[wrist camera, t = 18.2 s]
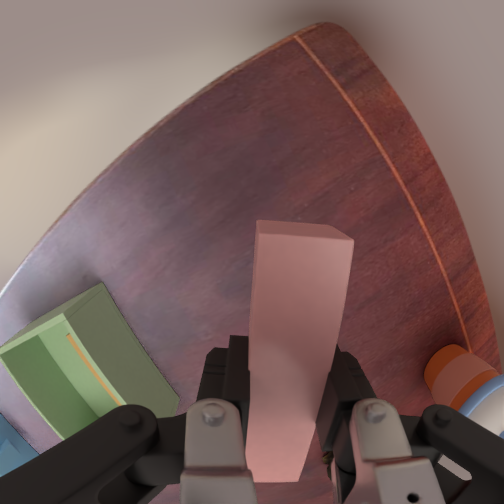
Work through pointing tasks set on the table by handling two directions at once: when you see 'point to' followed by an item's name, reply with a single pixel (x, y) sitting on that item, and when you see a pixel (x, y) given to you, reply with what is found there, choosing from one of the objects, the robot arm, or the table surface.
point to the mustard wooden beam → (91, 367)
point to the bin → (76, 371)
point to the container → (13, 448)
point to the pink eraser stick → (292, 339)
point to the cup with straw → (467, 386)
